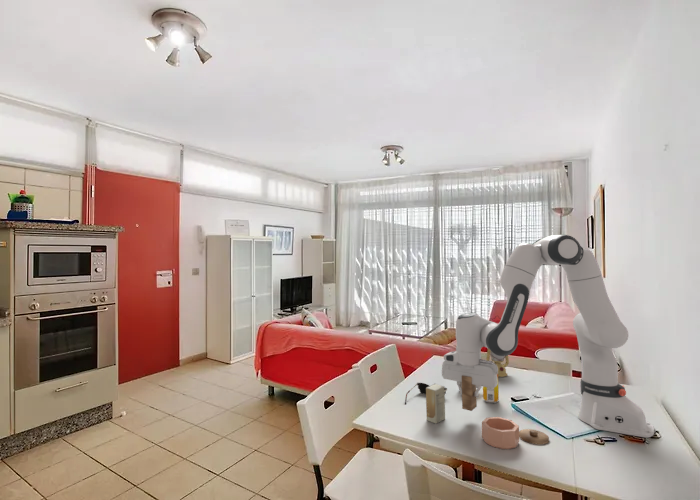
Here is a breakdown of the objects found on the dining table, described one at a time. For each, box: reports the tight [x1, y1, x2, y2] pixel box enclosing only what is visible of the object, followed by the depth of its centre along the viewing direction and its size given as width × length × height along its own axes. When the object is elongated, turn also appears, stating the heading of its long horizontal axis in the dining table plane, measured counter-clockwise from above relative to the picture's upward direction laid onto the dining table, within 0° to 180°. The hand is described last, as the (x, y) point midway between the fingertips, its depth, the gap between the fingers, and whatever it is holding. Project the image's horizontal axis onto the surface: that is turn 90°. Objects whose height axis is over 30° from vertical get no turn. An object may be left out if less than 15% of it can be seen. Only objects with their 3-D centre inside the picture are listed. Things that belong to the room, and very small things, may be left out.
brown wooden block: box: [461, 375, 478, 412], centre depth 140 cm, size 4×5×12 cm
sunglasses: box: [404, 382, 448, 405], centre depth 159 cm, size 14×16×5 cm
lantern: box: [485, 315, 510, 378], centre depth 194 cm, size 12×10×30 cm
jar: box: [481, 416, 520, 450], centre depth 124 cm, size 11×11×6 cm
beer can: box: [482, 367, 500, 404], centre depth 158 cm, size 6×6×15 cm
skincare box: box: [425, 383, 446, 425], centre depth 140 cm, size 6×4×12 cm
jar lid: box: [519, 428, 550, 445], centre depth 126 cm, size 9×9×2 cm
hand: (469, 395), depth 140 cm, fingers closed on brown wooden block, 3 cm apart
